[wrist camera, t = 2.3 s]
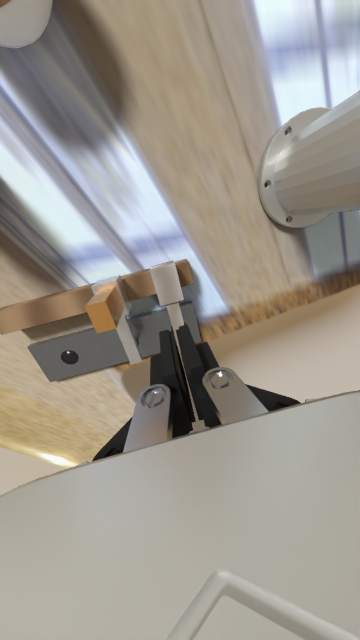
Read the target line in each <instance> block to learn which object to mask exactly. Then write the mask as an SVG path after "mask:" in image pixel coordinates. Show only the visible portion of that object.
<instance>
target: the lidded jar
mask: <svg viewBox="0 0 360 640" xmlns="http://www.w3.org/2000/svg"><path fill="white" fill-rule="evenodd" d="M52 2H53V0H0V46H2V47H7V48H21V47H25V46H28V45H30V44H32V43H34V42H35V41H36V40H37V39H38V38H39V37H40V36H41V35H42V33H43V32H44V30H45V29H46V26H47V24H48V21H49V18H50V14H51V10H52Z"/></svg>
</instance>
